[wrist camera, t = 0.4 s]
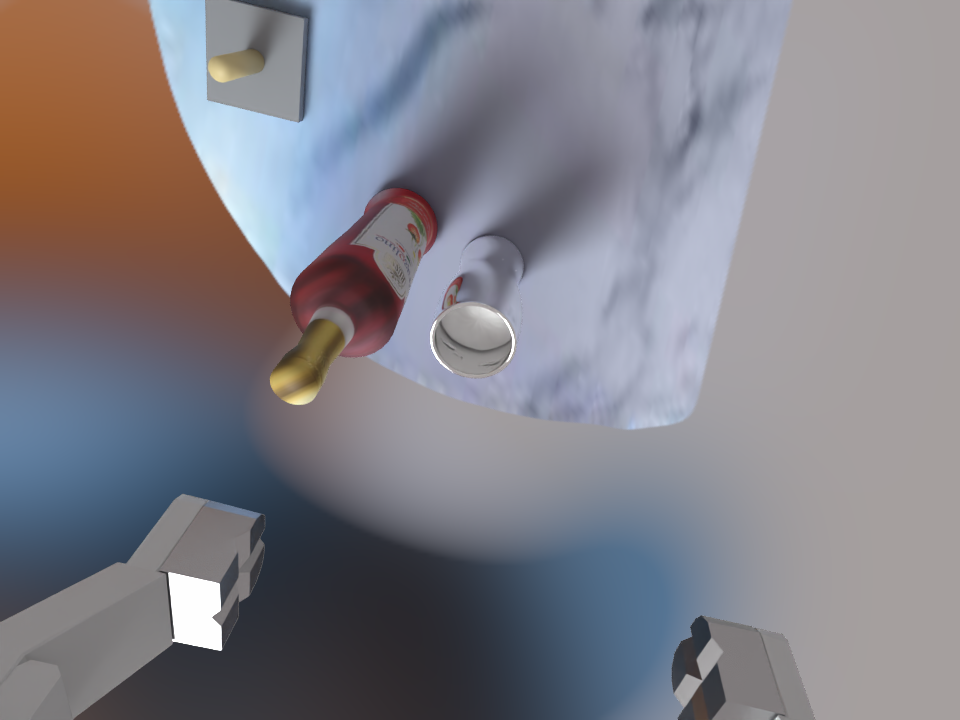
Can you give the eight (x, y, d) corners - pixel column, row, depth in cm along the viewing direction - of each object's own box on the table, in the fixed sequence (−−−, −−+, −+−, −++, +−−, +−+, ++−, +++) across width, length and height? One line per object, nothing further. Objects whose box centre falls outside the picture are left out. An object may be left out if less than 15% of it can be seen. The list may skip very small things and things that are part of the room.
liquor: (456, 236, 58) (384, 409, 35) (393, 270, 61) (285, 454, 37) (413, 166, 56) (303, 303, 32) (349, 205, 58) (201, 359, 34)
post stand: (211, -6, 50) (164, -5, 44) (308, 18, 50) (274, 22, 44) (212, 98, 54) (169, 112, 48) (302, 120, 54) (270, 136, 49)
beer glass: (509, 309, 62) (495, 394, 49) (444, 280, 61) (413, 358, 48) (541, 249, 58) (535, 323, 45) (473, 217, 57) (447, 284, 45)
